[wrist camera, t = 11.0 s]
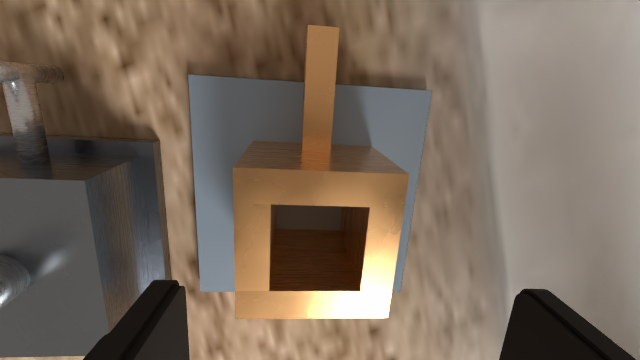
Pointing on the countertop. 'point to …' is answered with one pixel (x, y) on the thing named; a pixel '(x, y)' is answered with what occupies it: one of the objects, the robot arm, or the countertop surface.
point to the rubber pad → (286, 126)
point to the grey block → (72, 226)
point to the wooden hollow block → (316, 190)
